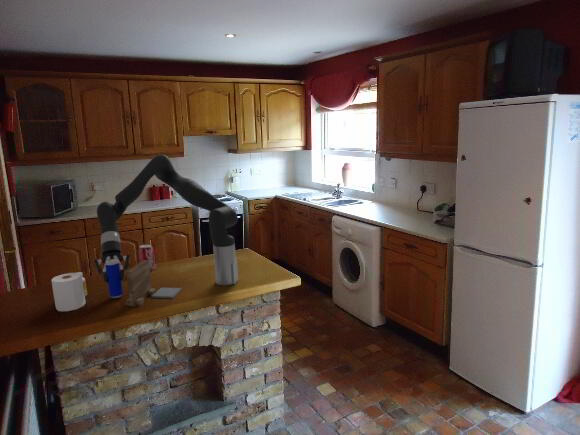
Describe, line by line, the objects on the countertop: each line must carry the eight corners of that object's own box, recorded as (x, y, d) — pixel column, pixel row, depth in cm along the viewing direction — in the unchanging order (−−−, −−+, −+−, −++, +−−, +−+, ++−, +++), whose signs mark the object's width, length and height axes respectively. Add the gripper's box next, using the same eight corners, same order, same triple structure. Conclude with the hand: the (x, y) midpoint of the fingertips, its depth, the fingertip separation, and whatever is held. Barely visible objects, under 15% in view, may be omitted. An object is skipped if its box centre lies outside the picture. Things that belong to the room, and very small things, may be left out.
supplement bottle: (90, 294, 179) (87, 272, 176) (80, 299, 174) (76, 276, 172) (80, 292, 180) (77, 271, 178) (69, 297, 175) (66, 275, 173)
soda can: (158, 267, 211) (155, 243, 208) (152, 271, 204) (149, 247, 201) (144, 267, 211) (141, 243, 209) (138, 271, 205) (135, 247, 202)
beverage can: (126, 294, 175) (121, 259, 171) (116, 299, 170) (111, 263, 167) (117, 292, 177) (112, 258, 174) (107, 297, 172) (101, 262, 169)
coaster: (181, 289, 180) (181, 288, 180) (172, 298, 171) (172, 296, 171) (161, 289, 181) (161, 287, 181) (151, 297, 172) (151, 295, 172)
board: (156, 292, 178) (153, 260, 175) (140, 306, 164) (136, 271, 161) (143, 292, 179) (139, 260, 176) (125, 305, 165) (121, 271, 162)
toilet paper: (50, 308, 165) (45, 279, 162) (75, 299, 174) (71, 271, 171) (66, 313, 160) (61, 283, 157) (91, 303, 169) (86, 274, 166)
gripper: (129, 246, 184) (133, 281, 176) (93, 251, 179) (96, 287, 171) (128, 237, 178) (132, 273, 170) (91, 242, 173) (93, 279, 165)
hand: (114, 280), depth 170 cm, fingers closed on beverage can, 5 cm apart
